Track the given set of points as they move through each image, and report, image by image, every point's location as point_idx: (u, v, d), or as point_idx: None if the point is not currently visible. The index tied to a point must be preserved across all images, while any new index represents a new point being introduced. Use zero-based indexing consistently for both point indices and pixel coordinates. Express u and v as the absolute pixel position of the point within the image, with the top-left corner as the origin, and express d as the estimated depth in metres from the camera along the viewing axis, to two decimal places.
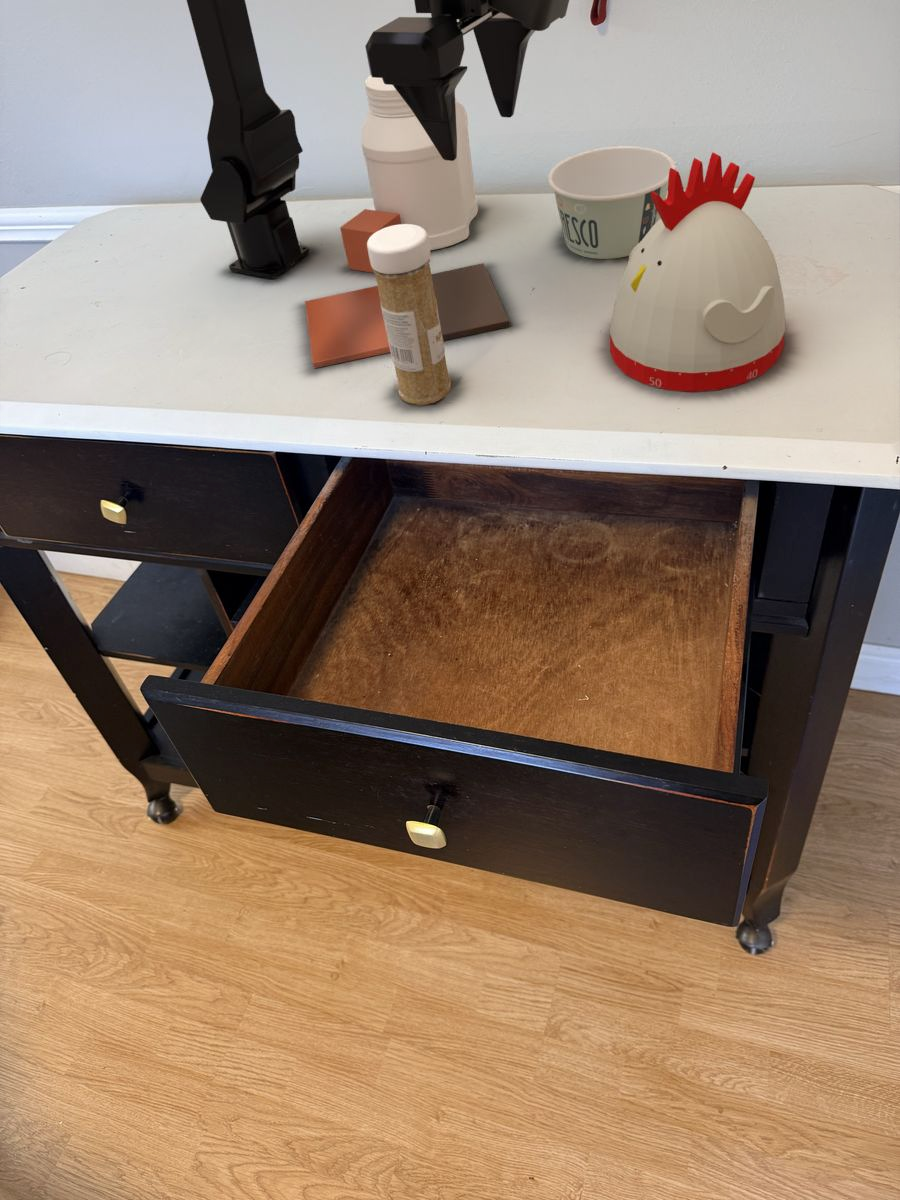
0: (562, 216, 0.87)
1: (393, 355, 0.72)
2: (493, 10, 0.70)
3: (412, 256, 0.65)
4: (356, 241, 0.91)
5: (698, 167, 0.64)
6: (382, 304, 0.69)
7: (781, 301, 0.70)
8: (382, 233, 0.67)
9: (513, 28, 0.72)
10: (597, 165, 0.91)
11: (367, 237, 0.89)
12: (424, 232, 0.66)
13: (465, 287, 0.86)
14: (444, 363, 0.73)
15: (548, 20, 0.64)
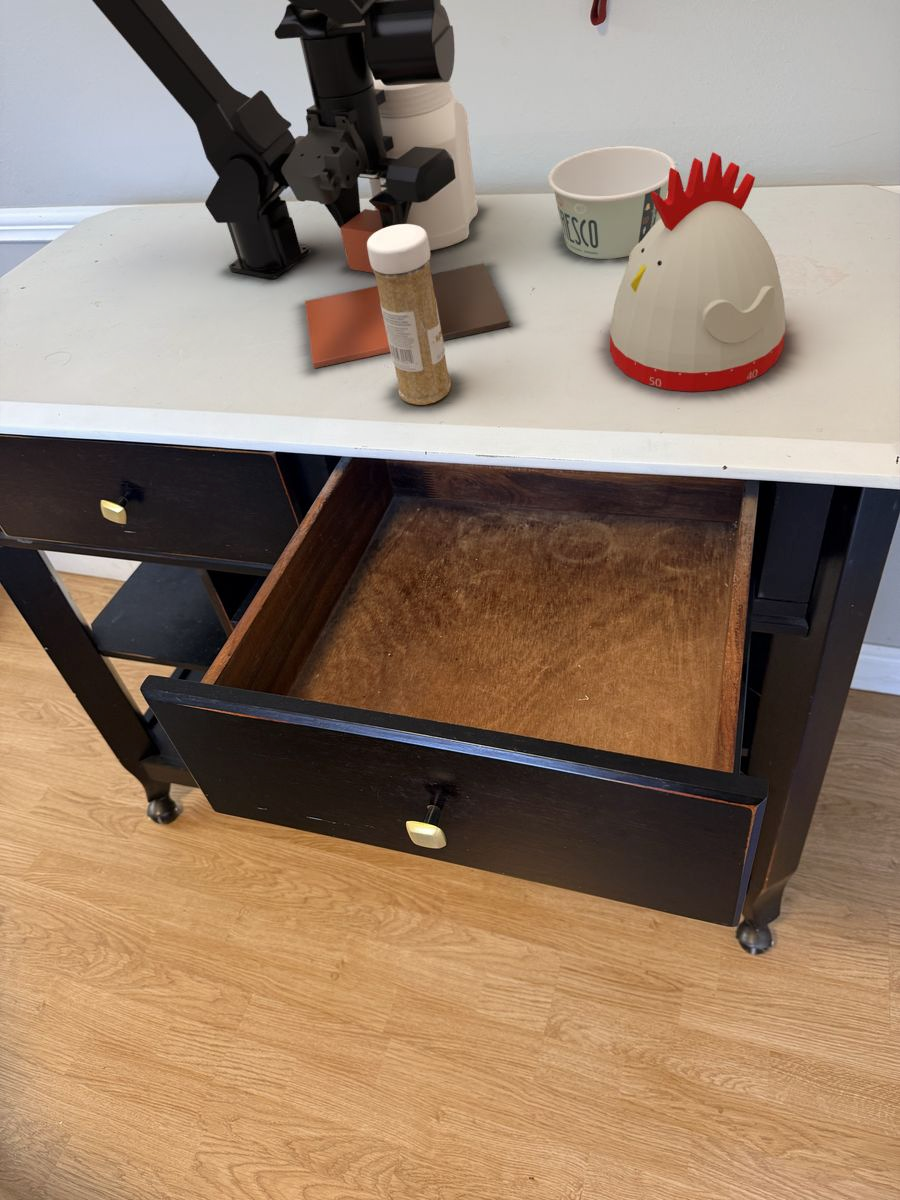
0: (562, 216, 0.87)
1: (393, 355, 0.72)
2: None
3: (412, 256, 0.65)
4: (356, 241, 0.91)
5: (698, 167, 0.64)
6: (382, 304, 0.69)
7: (781, 301, 0.70)
8: (382, 233, 0.67)
9: None
10: (597, 165, 0.91)
11: (367, 237, 0.89)
12: (424, 232, 0.66)
13: (465, 287, 0.86)
14: (444, 363, 0.73)
15: (298, 196, 0.83)
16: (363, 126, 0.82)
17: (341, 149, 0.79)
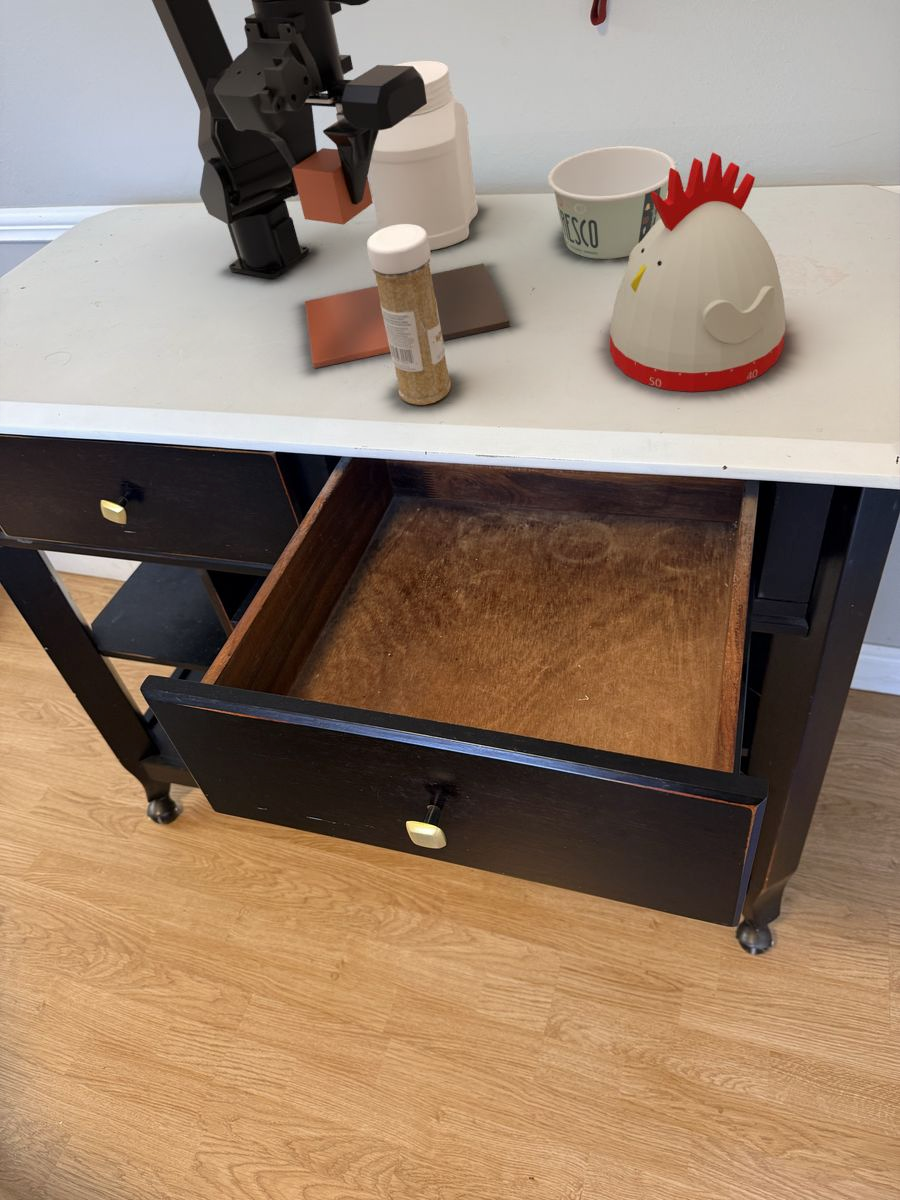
0: (562, 216, 0.87)
1: (393, 355, 0.72)
2: None
3: (412, 256, 0.65)
4: (311, 184, 0.76)
5: (698, 167, 0.64)
6: (382, 304, 0.69)
7: (781, 301, 0.70)
8: (382, 233, 0.67)
9: None
10: (597, 165, 0.91)
11: (324, 178, 0.75)
12: (424, 232, 0.66)
13: (465, 287, 0.86)
14: (444, 363, 0.73)
15: (236, 124, 0.69)
16: (313, 38, 0.68)
17: (284, 61, 0.64)
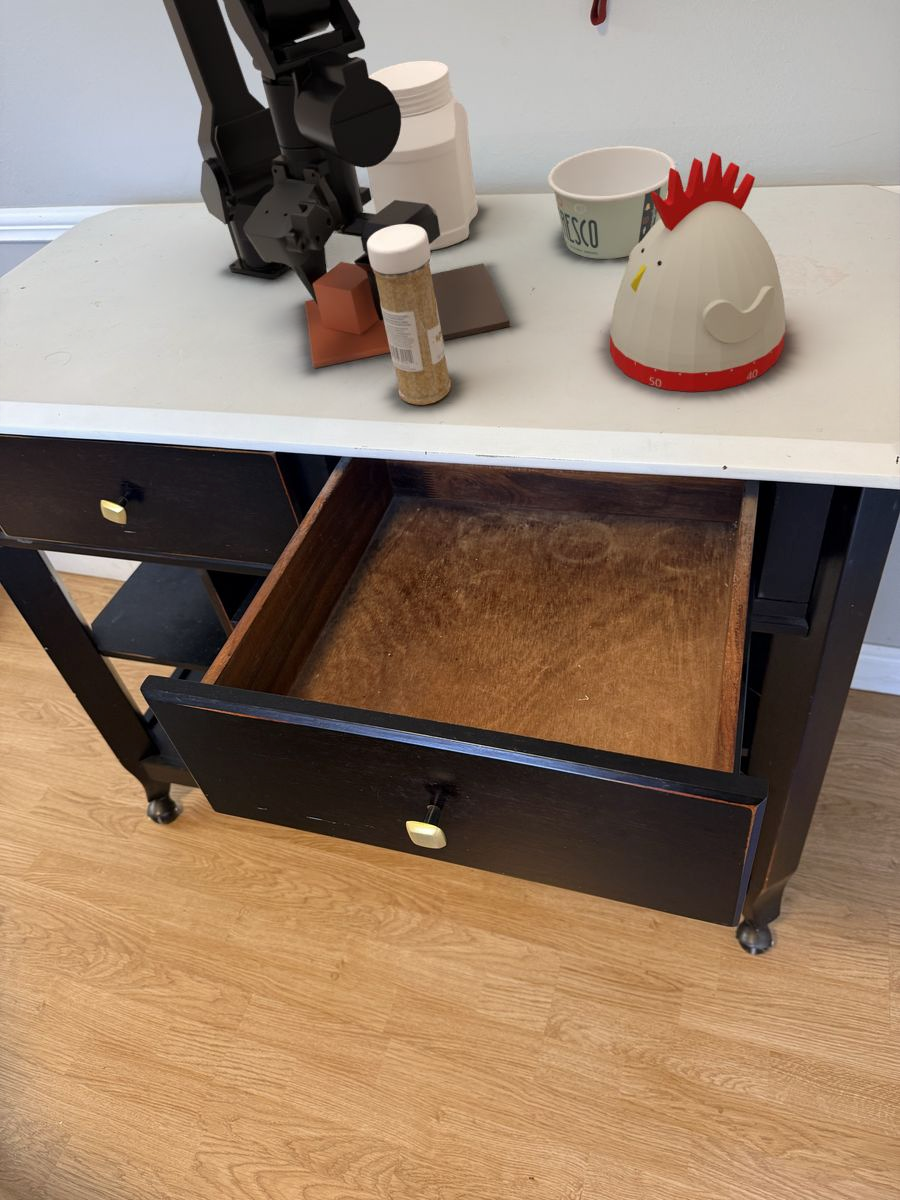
0: (562, 216, 0.87)
1: (393, 355, 0.72)
2: (350, 231, 0.77)
3: (412, 256, 0.65)
4: (330, 299, 0.81)
5: (698, 167, 0.64)
6: (382, 304, 0.69)
7: (781, 301, 0.70)
8: (382, 233, 0.67)
9: None
10: (597, 165, 0.91)
11: (342, 295, 0.80)
12: (424, 232, 0.66)
13: (465, 287, 0.86)
14: (444, 363, 0.73)
15: (263, 257, 0.74)
16: (336, 179, 0.73)
17: (309, 208, 0.70)
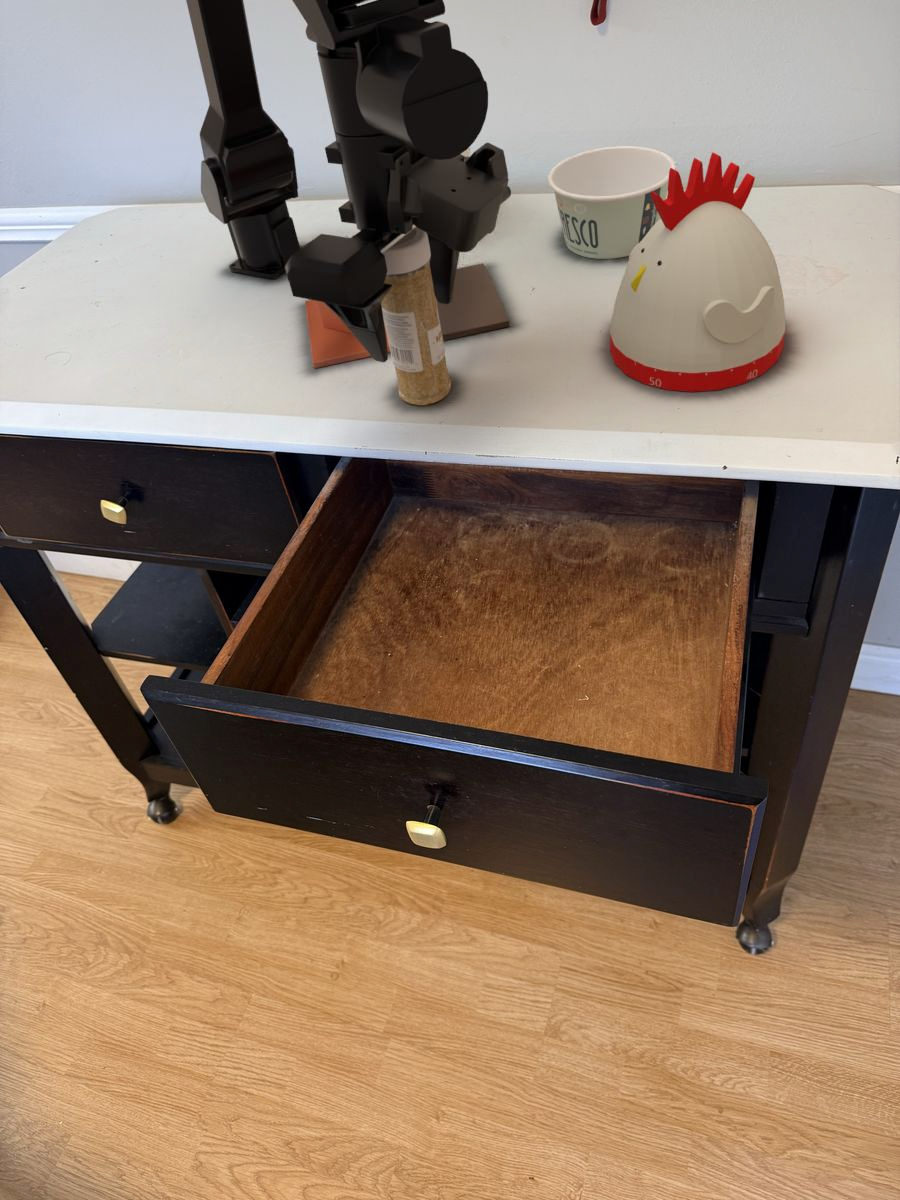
0: (562, 216, 0.87)
1: (393, 355, 0.72)
2: None
3: (412, 257, 0.65)
4: None
5: (698, 167, 0.64)
6: (382, 304, 0.69)
7: (781, 301, 0.70)
8: None
9: None
10: (597, 165, 0.91)
11: None
12: (424, 233, 0.66)
13: (465, 287, 0.86)
14: (444, 363, 0.73)
15: (474, 241, 0.61)
16: None
17: (491, 147, 0.62)
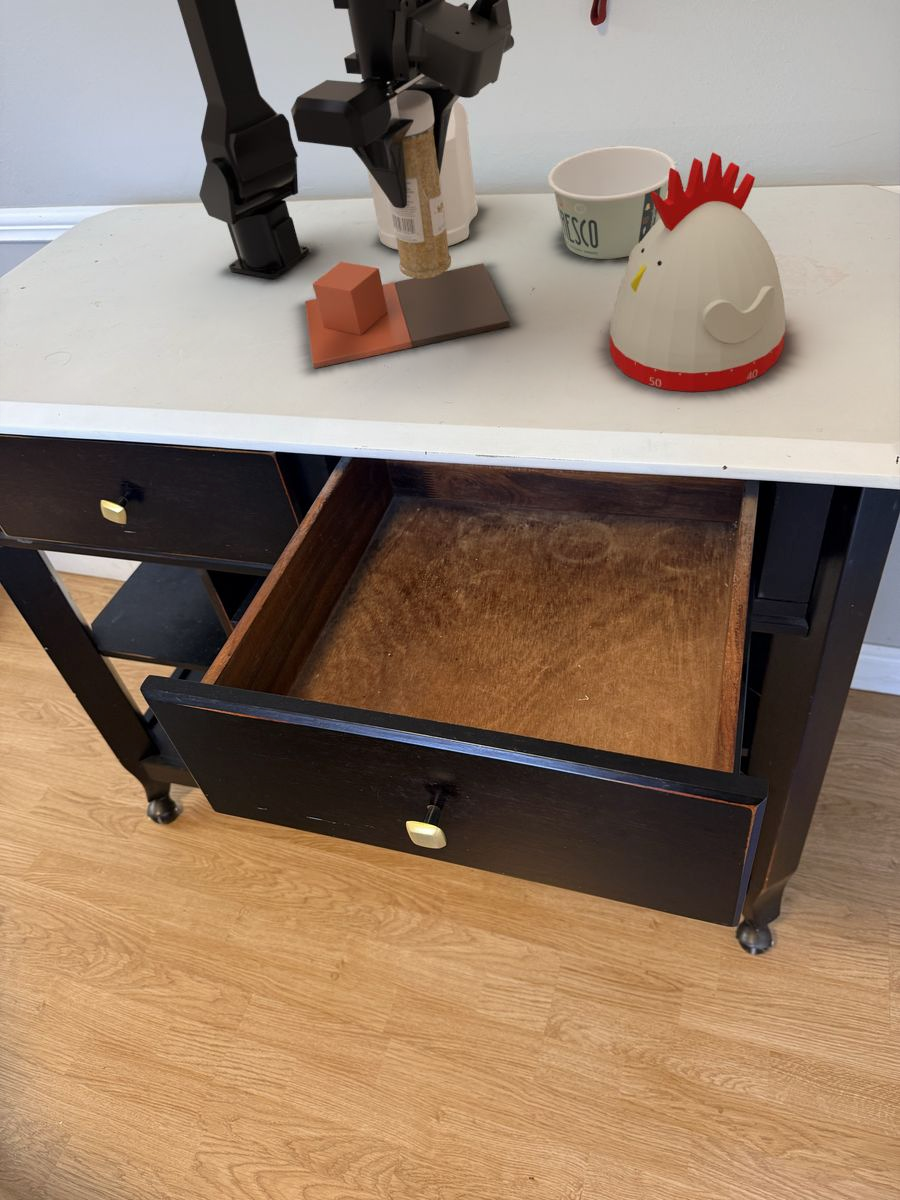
0: (562, 216, 0.87)
1: (395, 226, 0.74)
2: None
3: (417, 119, 0.67)
4: (330, 299, 0.81)
5: (698, 167, 0.64)
6: None
7: (781, 301, 0.70)
8: None
9: (434, 96, 0.69)
10: (597, 165, 0.91)
11: (342, 295, 0.80)
12: (428, 96, 0.68)
13: (465, 287, 0.86)
14: (445, 237, 0.75)
15: (477, 87, 0.62)
16: None
17: None
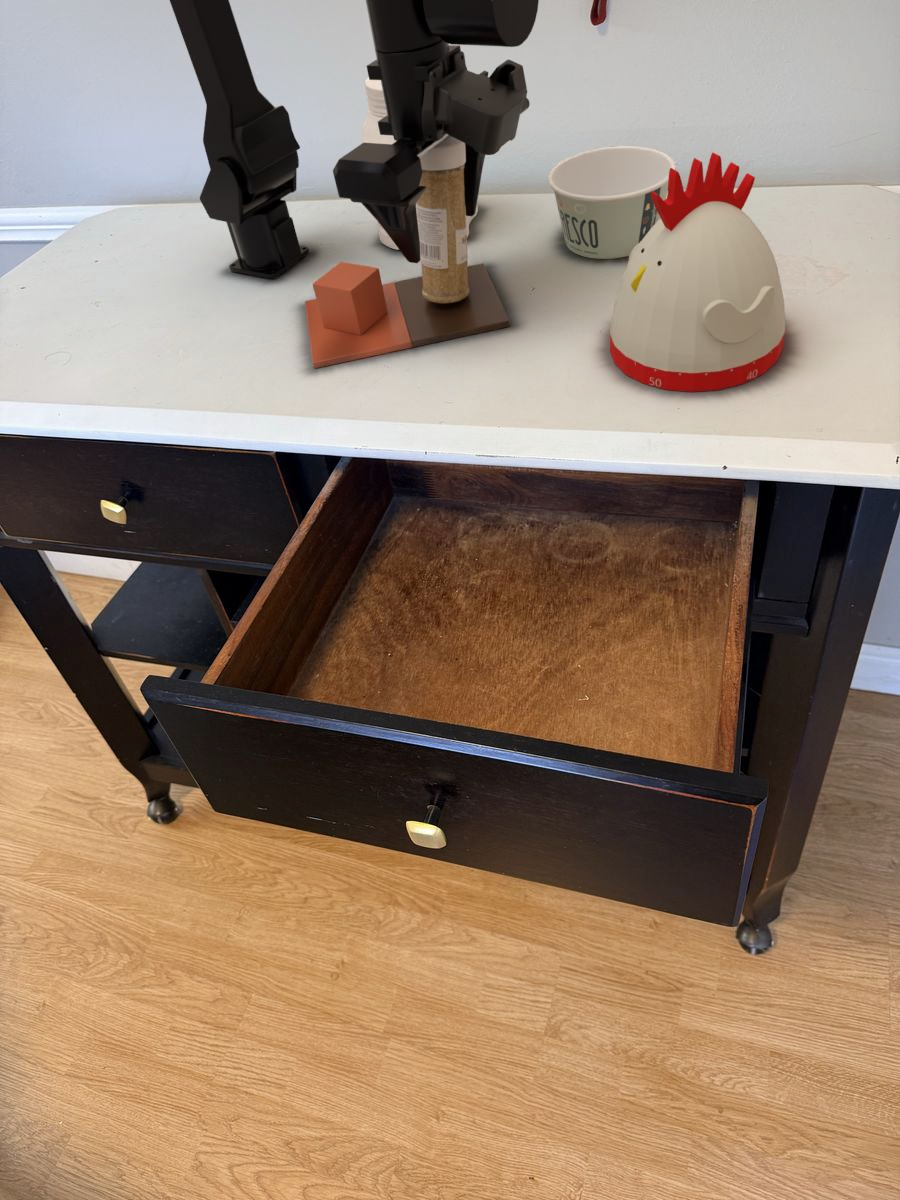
0: (562, 216, 0.87)
1: (422, 253, 0.81)
2: None
3: (451, 156, 0.75)
4: (330, 299, 0.81)
5: (698, 167, 0.64)
6: (418, 202, 0.79)
7: (781, 301, 0.70)
8: None
9: None
10: (597, 165, 0.91)
11: (342, 295, 0.80)
12: None
13: None
14: (466, 267, 0.83)
15: (498, 145, 0.70)
16: None
17: (512, 63, 0.71)
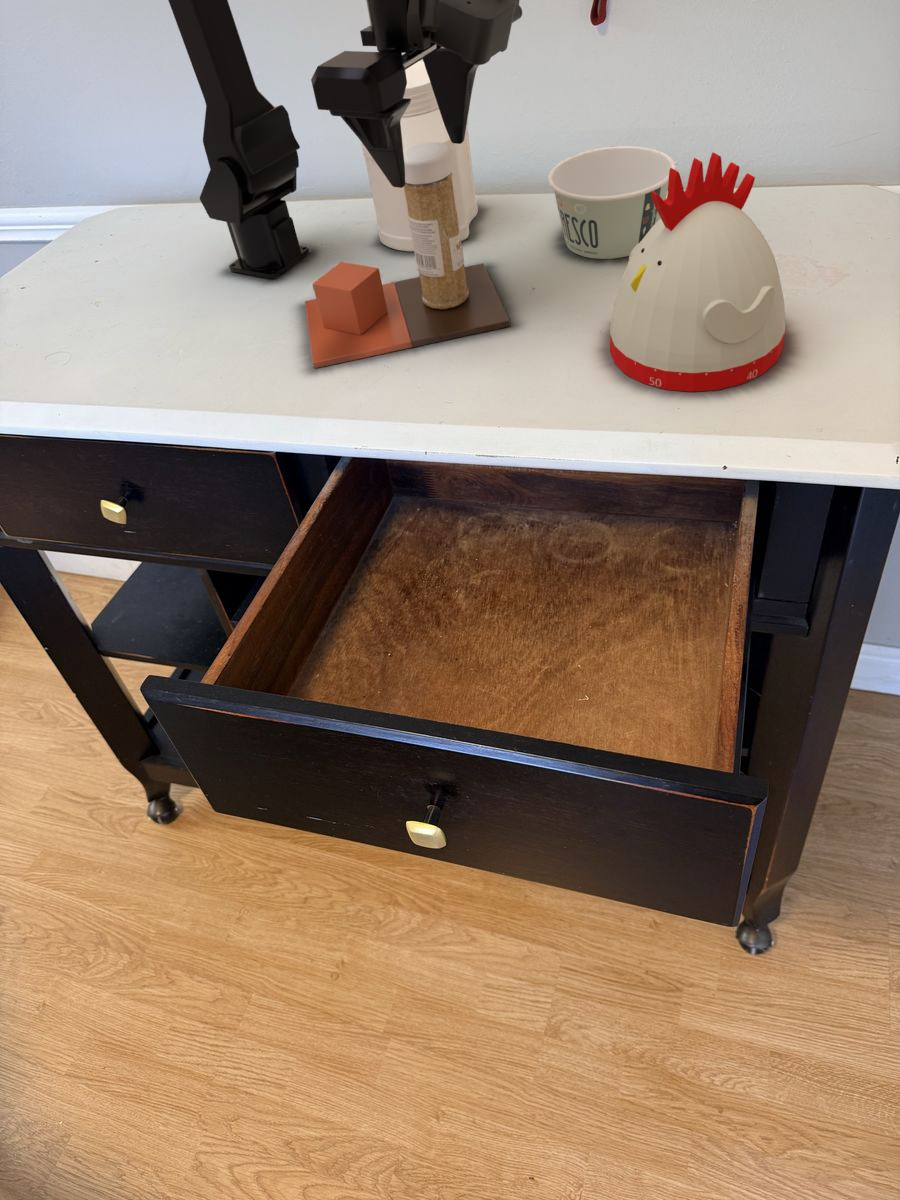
0: (562, 216, 0.87)
1: (418, 263, 0.81)
2: None
3: (437, 168, 0.75)
4: (330, 299, 0.81)
5: (698, 167, 0.64)
6: (409, 214, 0.79)
7: (781, 301, 0.70)
8: (410, 149, 0.76)
9: (460, 58, 0.74)
10: (597, 165, 0.91)
11: (342, 295, 0.80)
12: (447, 148, 0.75)
13: None
14: (463, 271, 0.83)
15: (488, 54, 0.66)
16: None
17: None
